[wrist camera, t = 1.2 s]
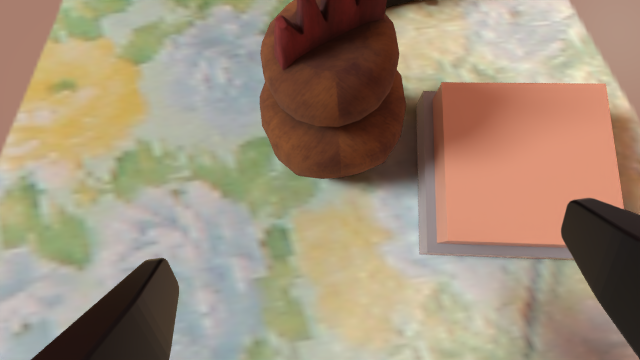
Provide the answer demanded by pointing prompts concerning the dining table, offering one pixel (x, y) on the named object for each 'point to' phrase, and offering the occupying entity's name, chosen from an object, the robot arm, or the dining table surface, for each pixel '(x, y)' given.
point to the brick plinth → (510, 165)
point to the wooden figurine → (332, 87)
